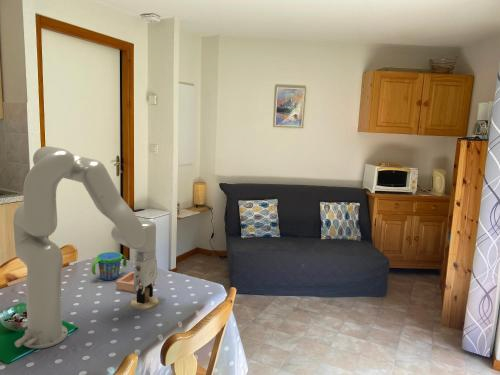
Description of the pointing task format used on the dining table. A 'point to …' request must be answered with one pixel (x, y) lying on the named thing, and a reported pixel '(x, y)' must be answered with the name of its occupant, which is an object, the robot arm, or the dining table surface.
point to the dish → (127, 283)
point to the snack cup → (109, 265)
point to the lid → (149, 301)
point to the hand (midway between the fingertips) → (144, 299)
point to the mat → (128, 306)
